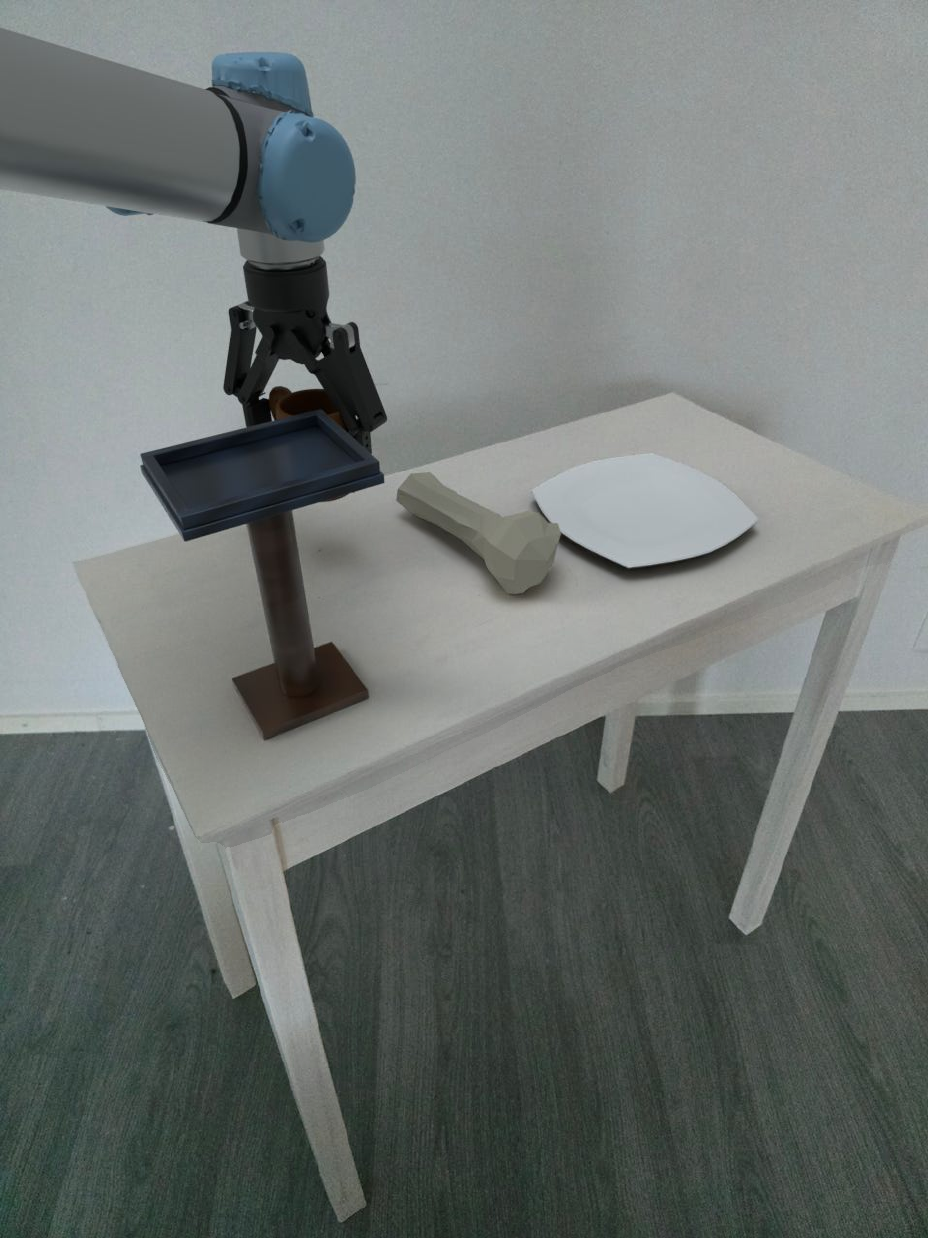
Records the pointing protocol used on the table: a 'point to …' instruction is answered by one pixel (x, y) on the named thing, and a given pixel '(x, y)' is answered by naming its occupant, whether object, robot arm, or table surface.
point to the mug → (302, 406)
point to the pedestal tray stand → (271, 544)
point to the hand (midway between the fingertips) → (311, 472)
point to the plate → (643, 510)
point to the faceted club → (487, 531)
